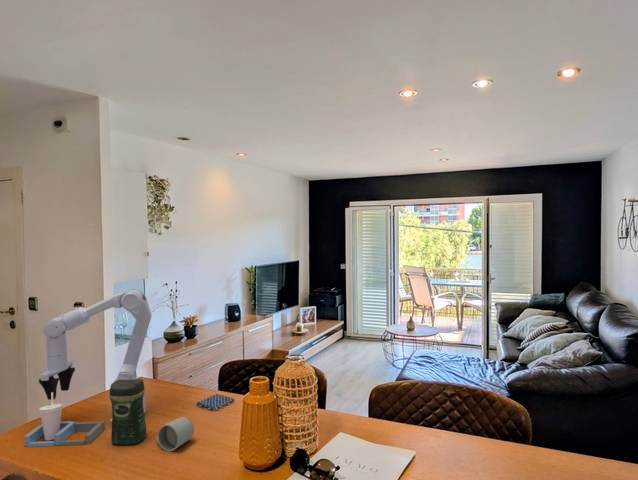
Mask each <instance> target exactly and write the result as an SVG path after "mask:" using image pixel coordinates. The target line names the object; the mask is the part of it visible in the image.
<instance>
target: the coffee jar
mask: <svg viewBox="0 0 638 480" xmlns="http://www.w3.org/2000/svg"><path fill="white" fill-rule="evenodd" d="M114 381H115V380H114ZM114 381H113V382H112V383H110V387H109V400H110V403H111V410H112V411H111V416H112V417H111V419H112V422H111V435H110V437H111V438H110V439H111V440H110V441H111V443H112V444H113V445H117V446H119V445H120V446H123V445H124V446H125V445H127V446H128V445H136V444H138V443H139V442H141V441H143V440H144V439H145V437H146V436H147V426H146V425H147V424H146V419H145V413H144V409H143V395H144V393H145V392H146V391H145V390H146V389H145V383H144V381H143V379H142V378H140V379H136V380H117V381H115V382H114Z"/></svg>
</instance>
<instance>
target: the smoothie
mask: <svg viewBox="0 0 638 480" xmlns="http://www.w3.org/2000/svg"><path fill="white" fill-rule="evenodd" d="M50 401H51V404H47V405H45V406H44V405H43V406H40V407H39V409H38V413H39V414H40V419H41V424H42V426H43V432H44V435H43V436H44V440H45V441H54V440H55V439H54V435H55V434H57V433H58V432H59V430H60V422H61V421H62V420H61V418H62V412H63V411H62V409H63V408H64V405H63V403H55V402H54V400H53V392H51V400H50Z"/></svg>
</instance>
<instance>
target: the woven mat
mask: <svg viewBox="0 0 638 480" xmlns="http://www.w3.org/2000/svg"><path fill="white" fill-rule="evenodd" d="M234 403H235V398H234V397H230V396H227V395H225V396H224V394H221V393H220V394H219V393H215V394H212V396H211V395H209V396H208V397H206V398H203V399H202V400H199V401H197V402H196V405H195V406H196V407H197V408H201V409H203V410H206V411H210V412H213V413H217V411H220V410H222V409H223V408H226V407H228V406H230V405H232V404H234Z"/></svg>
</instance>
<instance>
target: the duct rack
mask: <svg viewBox="0 0 638 480" xmlns="http://www.w3.org/2000/svg"><path fill="white" fill-rule="evenodd" d="M105 424H106V423H105V421H83V422H82V421H81V422H80V421H79V422H78V421H71V420H68V421H67V420H66V421H64V420H63V421H62V420H61V421H60V430H59V432H58V433H57V434H55V435H54V439H53V440H48V441H46V440H45V441H38V440H39V439H40V438H42V437H43V436H44V432H43V426H42V423H41V424H39V425H37V426H36V427H34V429H32V430H31V431H30V432H28V433H27V434H26V435H24V436H23V438H24V439H23V441H24V447H28V448H30V447H31V448H34V447H54V446H62V447H63V446H81V445H82V446H84V445H88V444H89V445H90V444H91V443H92V442H93V441H94V440H95V439H96V438H97V437H99V435H100V434H102V432H104V431H105V430H106V425H105ZM75 432H77V433H78V432H79V433H80V432H87V433H86V434H85V435H84V439H73V440H72V439H70V440H67V439H68V438H69V437H71V436H72V435H73V434H74V433H75Z"/></svg>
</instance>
